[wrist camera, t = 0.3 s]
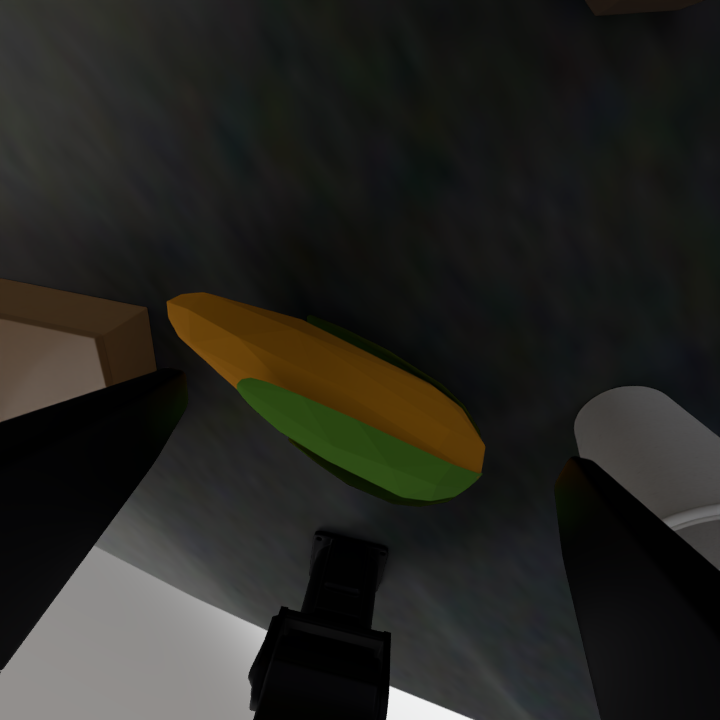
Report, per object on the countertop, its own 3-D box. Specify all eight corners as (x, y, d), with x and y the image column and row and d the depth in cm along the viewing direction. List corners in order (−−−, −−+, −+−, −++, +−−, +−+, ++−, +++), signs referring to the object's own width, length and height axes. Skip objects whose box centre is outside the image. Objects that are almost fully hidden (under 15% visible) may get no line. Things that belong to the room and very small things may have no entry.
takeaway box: (151, 303, 25) (94, 338, 21) (171, 437, 31) (129, 485, 27) (-81, 257, 27) (-180, 281, 22) (-19, 395, 33) (-88, 435, 28)
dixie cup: (555, 479, 27) (611, 636, 19) (546, 378, 24) (611, 517, 15) (697, 467, 25) (835, 641, 16) (712, 354, 21) (900, 501, 13)
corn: (442, 568, 22) (100, 397, 19) (436, 472, 29) (181, 337, 26) (533, 485, 18) (134, 268, 16) (501, 399, 25) (217, 237, 23)
